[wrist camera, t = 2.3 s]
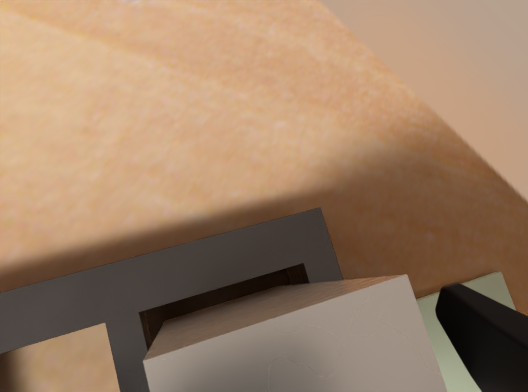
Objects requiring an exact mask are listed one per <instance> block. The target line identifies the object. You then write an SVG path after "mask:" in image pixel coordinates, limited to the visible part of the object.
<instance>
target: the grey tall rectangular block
mask: <svg viewBox="0 0 528 392" xmlns="http://www.w3.org/2000/svg"><path fill="white" fill-rule="evenodd" d="M143 364H144V368H145V372H146V377H147V381H148V385H149V390H150V392H448V391H447V388H446V385H445V382H444V380H443V377H442V374H441V371H440V368H439V365H438V362H437V359H436V356H435V354H434V351H433V348H432V345H431V342H430V339H429V336H428V333H427V330H426V327H425V325H424V322H423V319H422V316H421V313H420V310H419V307H418V304H417V301H416V299H415V296H414V293H413V290H412V287H411V284H410V281H409V278H408V275H407V274H404V275H393V276H383V277H372V278H361V279H351V280H340V281H329V282H319V283H308V284H298V285H287V286H276V287H273V288H270V289H266V290H263V291H260V292H257V293H253V294H250V295H247V296H244V297H240V298H237V299H234V300H231V301H228V302H224V303H221V304H218V305H215V306H211V307H208V308H205V309H202V310H198V311H195V312H192V313H189V314H185V315H182V316H179V317H176V318H173V319H169V320H166V321H165V322H164V324H163V325H162V327H161V329H160V331H159V333H158V334H157V336H156V338H155V340H154V342H153V344H152V345H151V347H150V349H149V351H148V353H147V354H146V356H145V358H144V360H143Z"/></svg>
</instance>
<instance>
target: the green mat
mask: <svg viewBox="0 0 528 392" xmlns="http://www.w3.org/2000/svg"><path fill="white" fill-rule="evenodd" d="M462 284H463V285H465V286H467V287H469V288H471V289H473V290H475V291H477V292H479V293H481V294H483V295H485V296H487V297H489V298H491V299H493V300H495V301H497V302H499V303H501V304H503V305H506V306H508V307H510V308H512V309H514V310H516V309H515V306H514V303H513V301H512V298H511V296H510V293H509V290H508V288H507V285H506V283H505V280H504V277H503V275H502V272H493V273H491V274H488V275H485V276H482V277H479V278H476V279H473V280H470V281H468V282H465V283H462ZM439 293H440V291H439V292H436V293H433V294H430V295H427V296H424V297H422V298H419V299H416V301H417V304H418V307H419V310H420V313H421V316H422V319H423V322H424V325H425V327H426V330H427V333H428V336H429V339H430V342H431V345H432V348H433V351H434V354H435V356H436V359H437V362H438V365H439V368H440V371H441V374H442V377H443V380H444V382H445V385H446V388H447V391H448V392H482V391H481V390H480V389H479V387H478V386H477V384H476V383H475V381H474V380H473V378H472V377H471V376H470V374H469V372H468V371H467V369H466V367H465V366H464V364H463V362H462V361H461V359H460V357H459V355H458V354H457V352H456V350H455V348H454V347H453V345H452V343H451V342H450V340H449V338H448V336H447V335H446V333H445V331H444V329H443V328H442V326H441V324H440V322H439V321H438V319H437V316H436V313H435V307H436V303H437V300H438V296H439Z"/></svg>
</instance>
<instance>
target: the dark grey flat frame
mask: <svg viewBox="0 0 528 392" xmlns="http://www.w3.org/2000/svg"><path fill="white" fill-rule="evenodd" d="M285 268H286V270H287V273H288V276H289V280H290V283H291V285H298V284H308V283H319V282H329V281H340V280H343V277H342V274H341V271H340V268H339V265H338V262H337V258H336V255H335V252H334V249H333V246H332V243H331V240H330V236H329V233H328V230H327V227H326V224H325V221H324V218H323V215H322V211H321V208H316V209H313V210H309V211H305V212H301V213H298V214H294V215H290V216H286V217H283V218H279V219H275V220H271V221H268V222H264V223H260V224H256V225H253V226H249V227H245V228H241V229H238V230H234V231H230V232H226V233H223V234H219V235H215V236H211V237H208V238H204V239H200V240H196V241H193V242H189V243H185V244H181V245H178V246H174V247H170V248H166V249H163V250H159V251H155V252H151V253H148V254H144V255H140V256H136V257H133V258H129V259H125V260H122V261H118V262H114V263H110V264H107V265H103V266H99V267H95V268H92V269H88V270H84V271H80V272H77V273H73V274H69V275H65V276H62V277H58V278H54V279H50V280H47V281H43V282H39V283H35V284H32V285H28V286H24V287H20V288H17V289H13V290H9V291H5V292H2V293H0V354H1V353H4V352H8V351H11V350H14V349H18V348H21V347H24V346H28V345H31V344H34V343H38V342H41V341H44V340H48V339H51V338H54V337H58V336H61V335H64V334H68V333H71V332H74V331H78V330H81V329H84V328H88V327H91V326H94V325H98V324H101V323H104V322H105V323H106V328H107V332H108V337H109V341H110V346H111V351H112V355H113V360H114V364H115V369H116V374H117V378H118V383H119V387H120V392H150V390H149V385H148V381H147V377H146V372H145V368H144V364H143V360H144V358H145V356H146V354H147V353H148V351H149V349H150V347H151V345H152V344H153V343H152V338H151V334H150V330H149V326H148V321H147V317H146V313H145V310H148V309H151V308H154V307H158V306H161V305H164V304H168V303H171V302H174V301H178V300H181V299H185V298H188V297H191V296H195V295H198V294H201V293H205V292H208V291H211V290H215V289H218V288H221V287H225V286H228V285H231V284H235V283H238V282H241V281H245V280H248V279H251V278H255V277H258V276H261V275H265V274H268V273H271V272H275V271H278V270H281V269H285Z"/></svg>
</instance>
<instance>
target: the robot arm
mask: <svg viewBox="0 0 528 392" xmlns="http://www.w3.org/2000/svg"><path fill="white" fill-rule="evenodd" d="M435 313H436V316H437V319H438V321H439V322H440V324H441V326H442V328H443V329H444V331H445V333H446V335H447V336H448V338H449V340H450V342H451V343H452V345H453V347H454V348H455V350H456V352H457V354H458V355H459V357H460V359H461V361H462V362H463V364H464V366H465V367H466V369H467V371H468V372H469V374H470V376H471V377H472V378H473V380H474V381H475V383H476V384H477V386H478V387H479V389H480V390H481V391H482V392H528V316H526V315H524V314H522V313H520V312H518V311H516V310H514V309H512V308H510V307H508V306H506V305H503V304H501V303H499V302H497V301H495V300H493V299H491V298H489V297H487V296H485V295H483V294H481V293H479V292H477V291H475V290H473V289H471V288H469V287H467V286H465V285H463V284H460V283H452V284H449V285H446V286H443V287H442V288H441V290H440V293H439V296H438V300H437V303H436V307H435Z"/></svg>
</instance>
